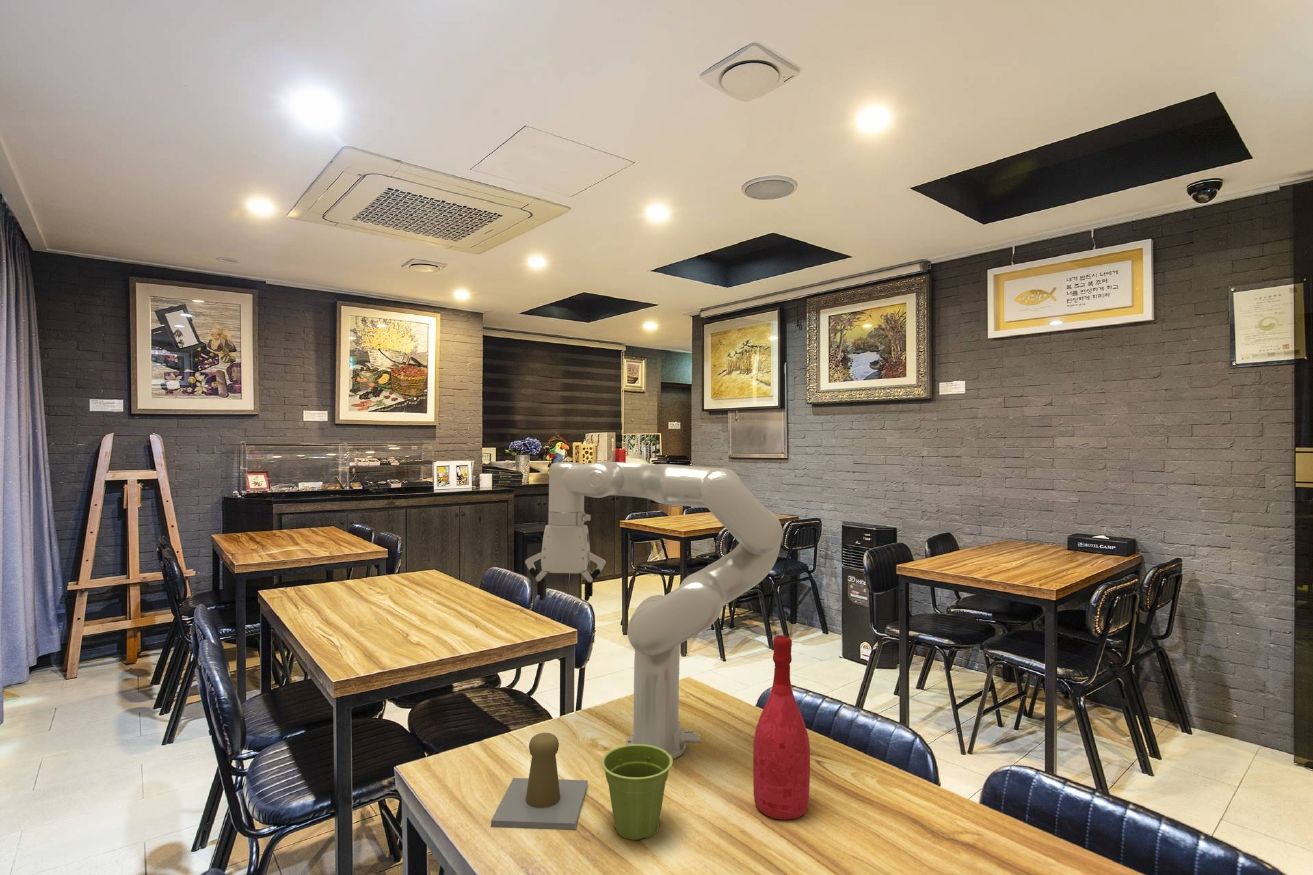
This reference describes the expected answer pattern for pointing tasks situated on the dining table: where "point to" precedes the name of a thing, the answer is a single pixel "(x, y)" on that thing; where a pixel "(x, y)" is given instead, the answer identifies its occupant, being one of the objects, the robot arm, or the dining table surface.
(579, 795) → the tile
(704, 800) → the dining table surface
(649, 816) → the plant pot
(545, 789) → the brown pawn
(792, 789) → the wine bottle
